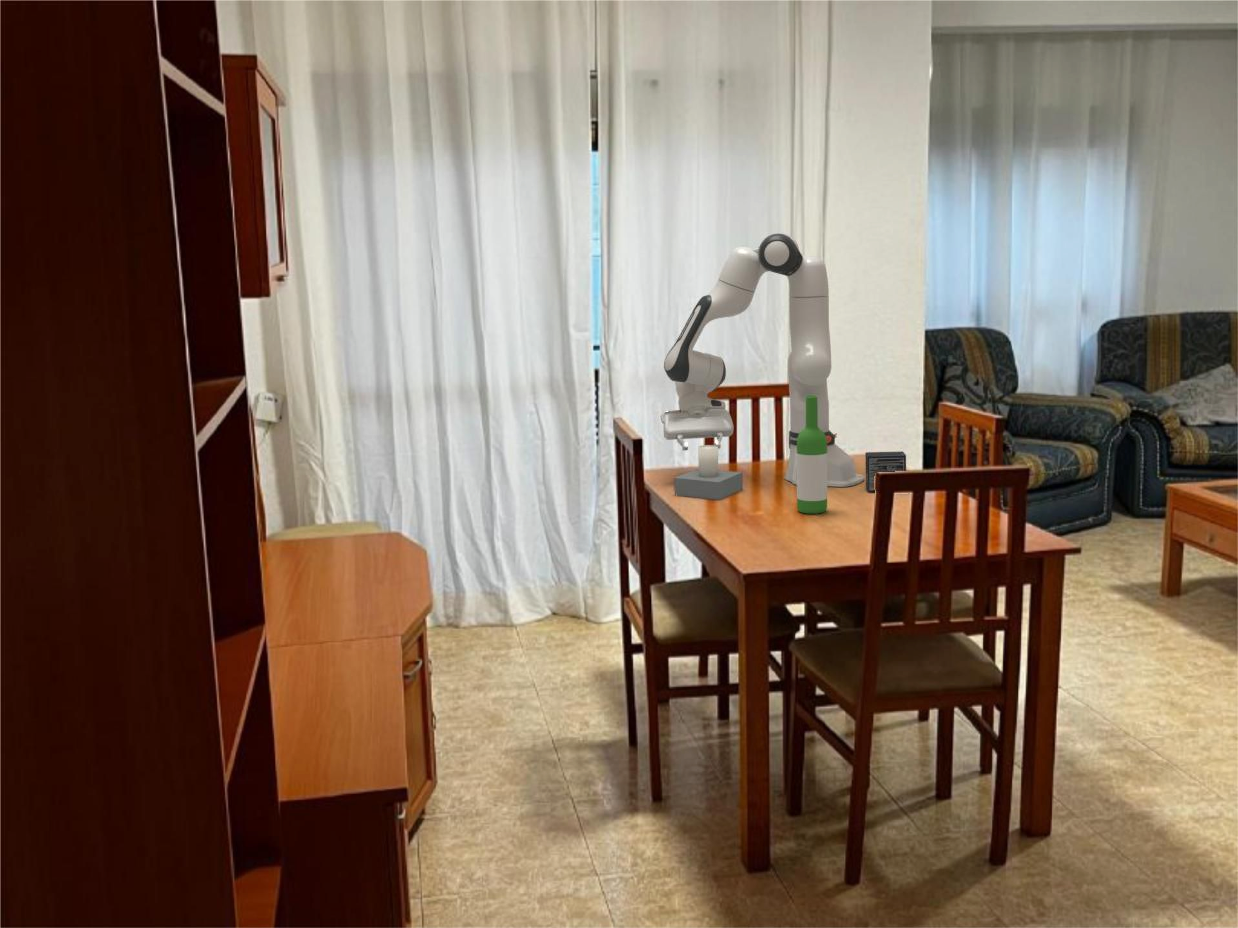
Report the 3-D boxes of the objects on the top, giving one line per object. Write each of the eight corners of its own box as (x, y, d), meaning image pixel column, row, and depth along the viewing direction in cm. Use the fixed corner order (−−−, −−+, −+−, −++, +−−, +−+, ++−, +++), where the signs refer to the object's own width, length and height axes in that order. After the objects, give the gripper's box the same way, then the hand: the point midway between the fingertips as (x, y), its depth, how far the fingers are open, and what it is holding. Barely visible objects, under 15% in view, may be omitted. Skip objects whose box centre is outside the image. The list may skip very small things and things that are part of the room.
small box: (903, 487, 328) (903, 450, 326) (906, 492, 322) (907, 455, 320) (864, 488, 329) (865, 451, 327) (867, 493, 323) (867, 455, 321)
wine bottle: (804, 516, 300) (803, 399, 294) (792, 509, 307) (791, 395, 301) (832, 513, 302) (832, 397, 296) (819, 506, 309) (819, 393, 303)
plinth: (742, 489, 332) (742, 472, 331) (718, 500, 321) (718, 482, 320) (699, 485, 340) (699, 468, 339) (674, 495, 328) (674, 477, 327)
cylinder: (721, 474, 330) (721, 446, 328) (712, 477, 325) (711, 449, 324) (704, 472, 333) (704, 444, 331) (695, 475, 328) (694, 447, 327)
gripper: (660, 405, 341) (666, 444, 333) (730, 401, 343) (737, 440, 335) (658, 417, 346) (664, 456, 338) (727, 414, 348) (734, 452, 341)
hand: (701, 448), depth 337 cm, fingers open, 8 cm apart
